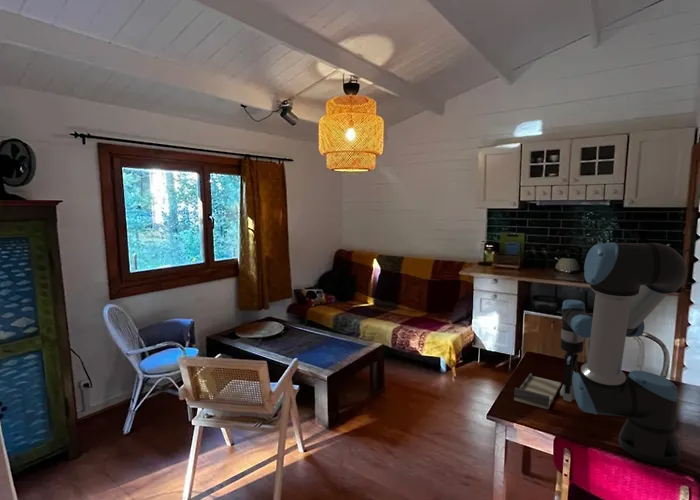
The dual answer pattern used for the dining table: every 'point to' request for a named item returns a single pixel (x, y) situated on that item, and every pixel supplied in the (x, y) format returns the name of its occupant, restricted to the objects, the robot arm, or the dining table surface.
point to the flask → (572, 391)
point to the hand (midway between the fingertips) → (569, 395)
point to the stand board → (537, 391)
